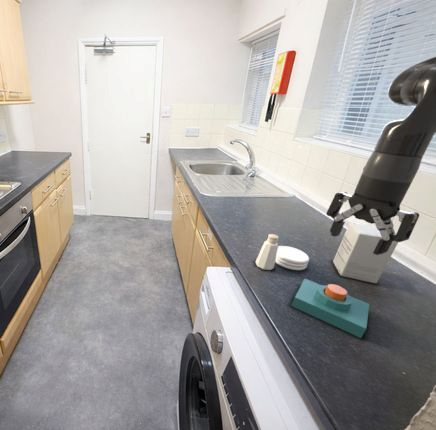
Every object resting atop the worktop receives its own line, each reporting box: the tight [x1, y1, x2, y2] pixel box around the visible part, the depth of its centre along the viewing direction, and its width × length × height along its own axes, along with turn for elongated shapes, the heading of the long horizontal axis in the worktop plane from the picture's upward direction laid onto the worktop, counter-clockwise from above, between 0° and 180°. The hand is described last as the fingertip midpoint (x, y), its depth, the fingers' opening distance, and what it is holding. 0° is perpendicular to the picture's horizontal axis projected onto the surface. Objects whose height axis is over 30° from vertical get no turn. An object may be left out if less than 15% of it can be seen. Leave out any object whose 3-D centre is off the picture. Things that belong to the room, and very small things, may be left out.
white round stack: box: [275, 245, 310, 271], centre depth 87 cm, size 10×10×4 cm
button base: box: [291, 278, 370, 339], centre depth 67 cm, size 14×11×5 cm
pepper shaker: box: [255, 233, 279, 271], centre depth 83 cm, size 5×5×11 cm
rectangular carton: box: [332, 221, 399, 284], centre depth 80 cm, size 9×9×15 cm
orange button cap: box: [325, 283, 348, 301], centre depth 66 cm, size 4×4×2 cm
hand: (354, 244), depth 60 cm, fingers open, 8 cm apart
